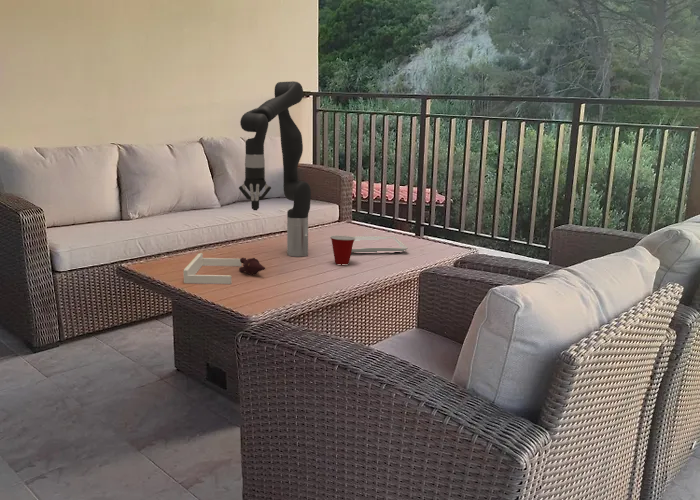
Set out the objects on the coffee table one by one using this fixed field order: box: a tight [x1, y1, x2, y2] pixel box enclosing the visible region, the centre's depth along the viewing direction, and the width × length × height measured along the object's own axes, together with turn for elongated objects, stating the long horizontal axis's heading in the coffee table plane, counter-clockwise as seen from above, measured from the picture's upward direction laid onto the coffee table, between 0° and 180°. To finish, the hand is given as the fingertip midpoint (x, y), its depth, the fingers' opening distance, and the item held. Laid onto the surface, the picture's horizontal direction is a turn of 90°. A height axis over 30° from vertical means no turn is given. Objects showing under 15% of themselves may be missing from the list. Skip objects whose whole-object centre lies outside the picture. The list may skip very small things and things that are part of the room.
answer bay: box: [183, 252, 243, 285], centre depth 249 cm, size 18×27×5 cm, turn 1°
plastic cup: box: [329, 234, 356, 266], centre depth 269 cm, size 11×11×12 cm
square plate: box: [351, 235, 409, 253], centre depth 300 cm, size 27×27×4 cm
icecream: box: [238, 257, 267, 276], centre depth 250 cm, size 7×7×15 cm
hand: (255, 210), depth 249 cm, fingers closed
